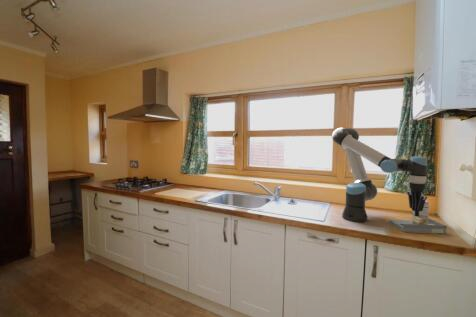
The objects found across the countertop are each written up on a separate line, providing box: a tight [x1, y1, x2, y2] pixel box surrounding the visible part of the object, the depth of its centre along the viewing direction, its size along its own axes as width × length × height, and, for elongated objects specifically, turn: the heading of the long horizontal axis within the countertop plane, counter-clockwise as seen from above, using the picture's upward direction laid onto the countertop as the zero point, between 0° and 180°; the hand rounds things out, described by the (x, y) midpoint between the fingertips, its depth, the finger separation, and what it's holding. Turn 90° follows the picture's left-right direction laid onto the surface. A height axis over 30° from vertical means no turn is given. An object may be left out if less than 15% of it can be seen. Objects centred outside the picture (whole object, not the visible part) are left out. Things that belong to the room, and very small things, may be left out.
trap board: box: [388, 217, 447, 234], centre depth 134 cm, size 23×14×4 cm, turn 86°
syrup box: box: [419, 199, 430, 218], centre depth 144 cm, size 6×6×14 cm
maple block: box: [412, 216, 428, 225], centre depth 130 cm, size 5×5×5 cm
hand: (415, 221), depth 134 cm, fingers closed
